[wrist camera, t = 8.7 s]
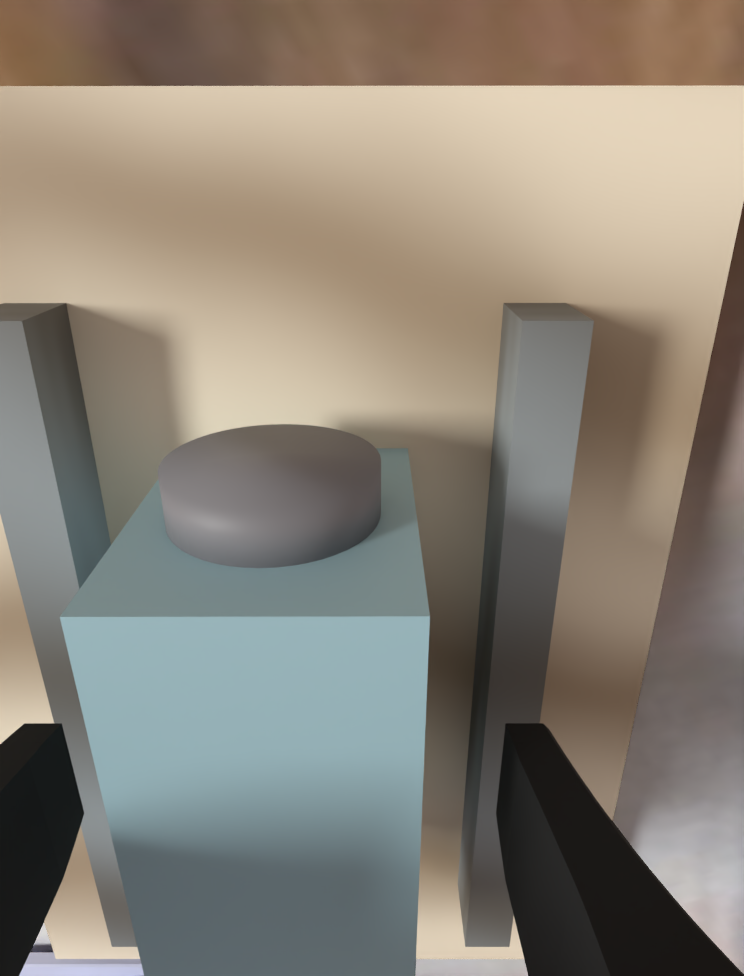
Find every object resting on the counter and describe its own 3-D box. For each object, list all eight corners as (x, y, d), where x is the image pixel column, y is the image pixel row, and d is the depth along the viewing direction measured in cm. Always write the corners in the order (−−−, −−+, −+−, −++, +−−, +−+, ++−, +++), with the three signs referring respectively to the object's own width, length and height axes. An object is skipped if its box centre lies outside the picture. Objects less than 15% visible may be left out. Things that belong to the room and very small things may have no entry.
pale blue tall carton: (399, 812, 16) (411, 1072, 11) (226, 812, 16) (166, 1072, 11) (408, 404, 11) (432, 551, 7) (173, 404, 11) (44, 553, 7)
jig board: (573, 921, 19) (601, 1023, 16) (71, 921, 19) (29, 1023, 16) (733, 93, 10) (833, 70, 8) (-170, 94, 10) (-319, 71, 8)
